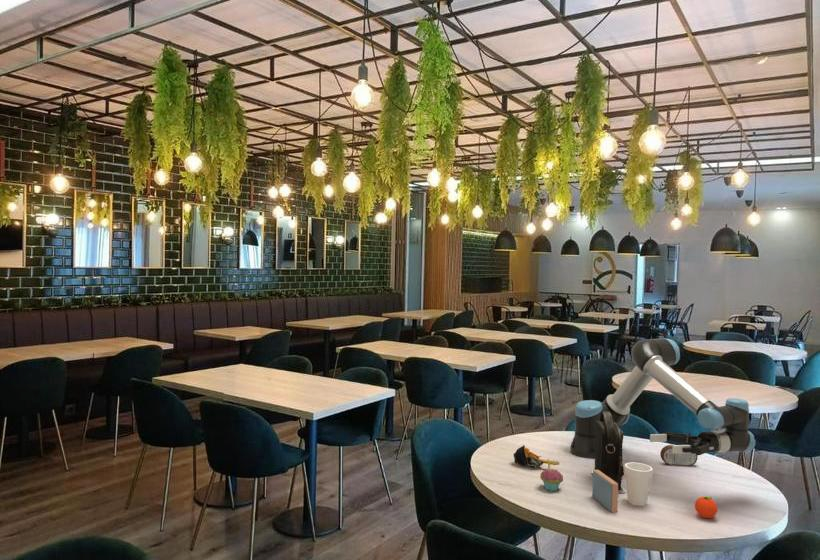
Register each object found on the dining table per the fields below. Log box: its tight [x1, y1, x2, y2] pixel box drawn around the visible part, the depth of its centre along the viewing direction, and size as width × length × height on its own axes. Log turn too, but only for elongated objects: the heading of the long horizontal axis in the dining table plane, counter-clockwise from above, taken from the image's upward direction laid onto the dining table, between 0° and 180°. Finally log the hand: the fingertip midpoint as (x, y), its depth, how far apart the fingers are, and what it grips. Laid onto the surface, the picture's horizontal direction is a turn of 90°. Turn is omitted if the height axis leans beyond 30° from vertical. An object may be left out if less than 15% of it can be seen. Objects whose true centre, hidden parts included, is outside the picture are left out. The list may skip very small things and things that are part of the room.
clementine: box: [694, 495, 718, 519], centre depth 197 cm, size 8×7×7 cm
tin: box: [659, 444, 699, 467], centre depth 249 cm, size 15×3×8 cm, turn 84°
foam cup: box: [624, 461, 653, 507], centre depth 208 cm, size 10×9×13 cm
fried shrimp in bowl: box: [513, 444, 560, 469], centre depth 243 cm, size 9×11×18 cm
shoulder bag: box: [590, 411, 625, 494], centre depth 227 cm, size 23×9×28 cm, turn 172°
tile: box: [591, 469, 619, 513], centre depth 206 cm, size 2×14×10 cm, turn 10°
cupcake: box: [539, 459, 564, 492], centre depth 219 cm, size 9×8×12 cm
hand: (661, 443), depth 209 cm, fingers open, 13 cm apart
